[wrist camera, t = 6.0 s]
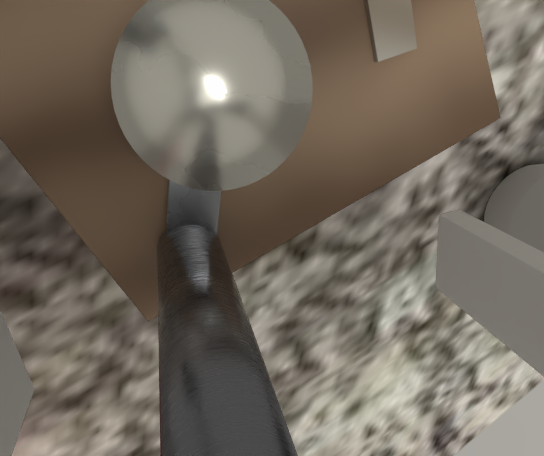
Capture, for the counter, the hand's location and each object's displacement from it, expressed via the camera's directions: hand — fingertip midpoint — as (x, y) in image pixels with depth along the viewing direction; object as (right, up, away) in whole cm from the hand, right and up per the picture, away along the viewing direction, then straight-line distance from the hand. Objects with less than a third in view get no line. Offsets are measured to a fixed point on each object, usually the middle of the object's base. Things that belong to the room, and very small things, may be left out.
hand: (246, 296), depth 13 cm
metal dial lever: (-2, +7, +2) cm, 7 cm away
